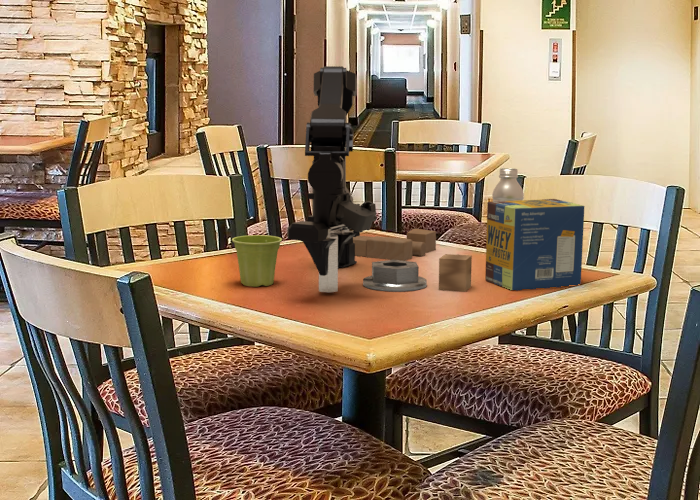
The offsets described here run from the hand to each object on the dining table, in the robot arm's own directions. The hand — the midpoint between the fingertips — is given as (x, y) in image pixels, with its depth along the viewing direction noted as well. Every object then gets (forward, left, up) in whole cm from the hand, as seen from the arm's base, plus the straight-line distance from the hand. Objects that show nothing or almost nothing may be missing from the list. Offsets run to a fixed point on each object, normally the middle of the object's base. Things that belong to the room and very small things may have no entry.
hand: (328, 273), depth 179 cm
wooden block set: (-11, +46, -4) cm, 47 cm away
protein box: (+29, +28, -4) cm, 41 cm away
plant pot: (-16, +1, -4) cm, 16 cm away
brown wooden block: (+18, +16, -4) cm, 24 cm away
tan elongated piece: (0, 0, -3) cm, 3 cm away
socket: (+7, +13, -4) cm, 15 cm away
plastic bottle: (+17, +46, -4) cm, 49 cm away
